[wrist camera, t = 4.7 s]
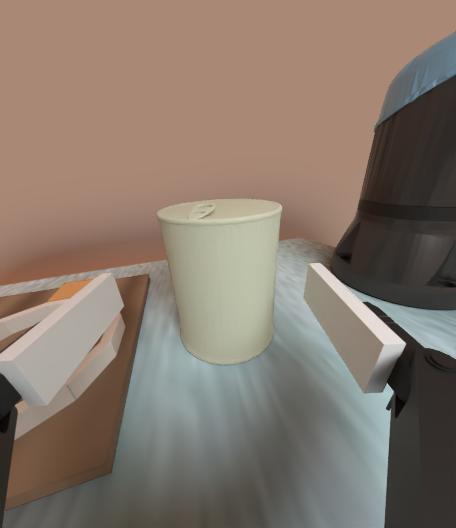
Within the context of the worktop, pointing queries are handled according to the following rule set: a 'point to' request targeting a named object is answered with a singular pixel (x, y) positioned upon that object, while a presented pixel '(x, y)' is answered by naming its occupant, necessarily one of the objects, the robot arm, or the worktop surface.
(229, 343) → the can
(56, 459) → the walnut board
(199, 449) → the worktop surface
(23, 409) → the ring
